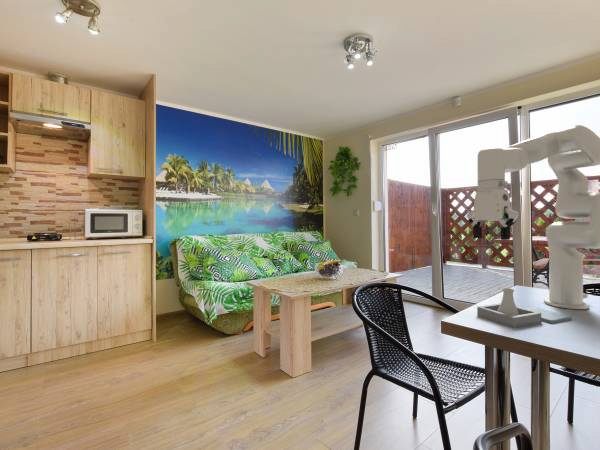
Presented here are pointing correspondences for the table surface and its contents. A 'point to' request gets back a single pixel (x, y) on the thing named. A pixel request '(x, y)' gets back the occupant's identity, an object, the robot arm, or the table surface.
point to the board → (551, 316)
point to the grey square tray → (509, 316)
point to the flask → (508, 303)
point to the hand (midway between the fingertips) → (490, 238)
